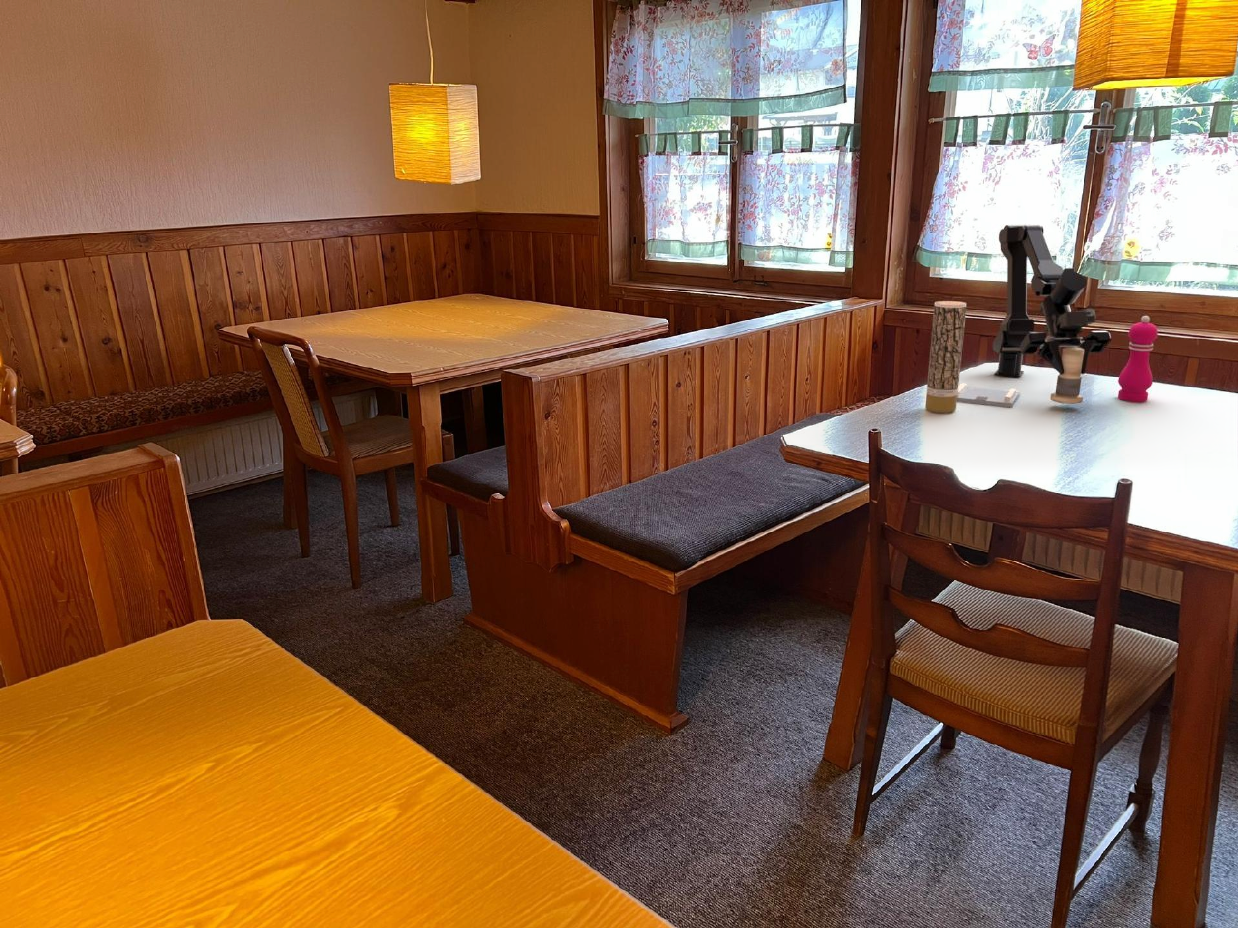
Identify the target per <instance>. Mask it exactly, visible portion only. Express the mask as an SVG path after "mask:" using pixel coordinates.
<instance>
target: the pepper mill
mask: <svg viewBox="0 0 1238 928" xmlns="http://www.w3.org/2000/svg"><path fill="white" fill-rule="evenodd" d="M1150 320H1151V318H1150V317H1149V316H1148V315H1143V316H1142V317H1141V318H1140V321H1139V322H1137V323H1134V324H1133V325H1131V327H1130V328H1129V330H1128V338H1129V339H1130V342H1129V344H1128V345H1129V346H1128V349H1129V350H1130V352H1129V353H1130V354H1129V359H1128V362H1127V363H1126V364H1125V366H1124V368H1123V369H1122V370H1121V372H1120V374H1119V376H1118V381H1117V383H1118V385H1119V386H1120V388H1121V389H1119V390H1118V392H1117V393H1118V394H1117V399H1119V400H1121V401H1125V402H1135V403H1142V402H1146V400H1148V398H1149V392H1148V389H1150V388H1151V387H1152V386H1153V379H1154V378H1153V373H1152V371H1151V368H1150V362H1149V360H1150V358H1149V357H1150V353H1151V351H1153V350H1154V343H1153V342H1155V340H1156V339H1157V338H1158V334H1159V330H1158V328H1157V326H1156V325H1155V324H1153V323H1151V322H1150Z"/></svg>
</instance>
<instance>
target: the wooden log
mask: <svg viewBox="0 0 1238 928" xmlns="http://www.w3.org/2000/svg"><path fill="white" fill-rule="evenodd" d="M966 313H967V302H964V301H958V300H957V301H956V300H955V301H954V300H942V301H941V300H939V301H935V302H934V306H933V315H932V316H933V317H932V328H931V329H932V330H931V337H930V338H931V340H930V351H929V363H928V373H927V383H926V396H925V409H926V410H927V411H928V412H931V413H934V414H951V413H953V412H955V411H956V409H957V403H958V402H957V394H958V387H959V383H960V373H961V372H960V371H961V362H962V352H963V343H964V333H965V326H966V325H965V324H966V323H965V322H966V316H967V315H966Z"/></svg>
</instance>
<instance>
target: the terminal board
mask: <svg viewBox="0 0 1238 928" xmlns="http://www.w3.org/2000/svg"><path fill="white" fill-rule="evenodd" d="M1020 395H1021V393H1020V391H1017V388H1011V387H1010V389H1009V390H1003V389H1002V390H1001V389H993V388H984V387H981V388H980V387H971V386H967V383H960V385H958V394H957V403H966V404H974V405H975V404H977V405H983V406H984V405H985V406H995V407H1003V408H1012V407H1013V406H1014V404H1015V403H1016V402H1017V400H1018V399H1019V397H1020Z"/></svg>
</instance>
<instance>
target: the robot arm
mask: <svg viewBox="0 0 1238 928" xmlns="http://www.w3.org/2000/svg"><path fill="white" fill-rule="evenodd" d="M998 241H999V243H1000V252H1001V253H1002V255H1003V257H1005V259H1006V262H1007V263H1006V266H1007V267H1006V275H1007V276H1006V278H1007V279H1006V282H1007V283H1006V315H1005V317H1004V319H1003V320H1002V322H1001V324H1000V326H999V331H998V334H996V336H995V338H994V340H993V342H992V351H994V352H996V353H997V354H999V360H998V364H997V365H998V366H997V368H998V369H997V370H996V371H995V372H994V376H999V377H1000V376H1001V377H1009V378H1010V377H1012V378H1022V376H1023V375H1024V370H1022V367H1023V366H1022V363H1023V356H1024V355H1035V354H1036V353H1037V357H1039V358H1042V359H1043V360H1045V362H1047V363H1048V364H1050V366H1052V368H1054V369H1055V371H1056V372H1058V373H1059V374H1061V375H1063V374H1064V367H1063V363H1062V355H1061V354H1060V347H1064V348H1065V347H1075V348H1082V349H1084V356H1083V363H1082V370H1081V375H1085V374H1086V370H1087V365H1088V358H1089V354H1100V353H1102V352H1103V351H1104V350H1105V349H1106V348H1107V346H1109V344H1110V342H1111V341H1112V336H1111V333H1110V332H1109V331H1107V330H1091V331H1090V332H1089V333H1088V335H1087V336H1084V337H1082V336H1078V335H1080V334H1081V333H1082V332H1083V328H1084V327H1088V326H1089V325H1091V324H1093V323H1095V322H1096V314H1095V310H1094V309H1093V308H1087V309H1084V310H1081V311H1078V310H1077V311H1072V310H1071V307H1070V306H1071V305H1073V304H1074V303H1075V302H1076V301H1077V299H1078V298H1079V297H1080V295H1081V294H1082V292H1083V291H1084V289H1085V288H1086V286H1087V279H1086V278H1085V276H1084V275H1082V274H1081V273H1080V272H1077V271H1075V268H1073V267H1068V268H1067V267H1066V268H1063V267H1062V266H1060V265H1059V264H1058V263H1056V262H1055V261H1054V259H1053V257H1052V253H1051V250H1050V249H1049V245H1048V243H1047V240H1046V239H1045V236H1044V227H1043V225H1040V224H1006V225H1005V226H1004V227H1003V228H1002V229H1000V231H999V233H998ZM1028 260H1029V264H1030V266H1031V269H1032V271H1033V276H1032V278H1031V280H1030V283H1031V285H1030V286H1031V291H1032V292H1033V293H1034V294H1033V295H1035V296H1036V297H1044V298H1043V300H1042V301H1041V305H1040V307H1039V311H1038V312H1039V313H1043V315H1044V316H1043V317H1044V319H1045V324H1046V325H1045V326H1044V331H1035V321H1034V319H1033V318H1030V316H1029V315H1028V313H1027V309H1028V308H1027V302H1028V300H1027V299H1028V298H1027V297H1028V296H1027V295H1028V292H1027V291H1028V283H1027V281H1028ZM1047 332H1048V334H1047ZM1037 351H1038V352H1037Z"/></svg>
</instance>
